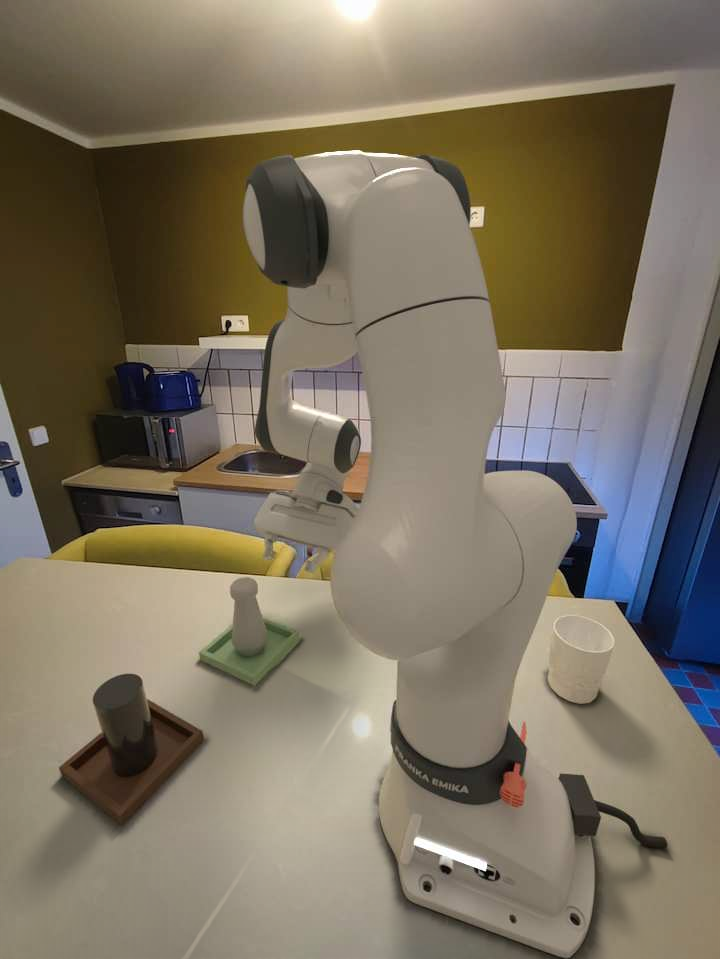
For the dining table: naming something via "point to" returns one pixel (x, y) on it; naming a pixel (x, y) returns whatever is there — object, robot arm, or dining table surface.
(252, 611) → the salt shaker
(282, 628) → the light tray
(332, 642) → the dining table surface
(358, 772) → the dining table surface
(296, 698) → the dining table surface
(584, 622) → the white cup
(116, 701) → the pepper shaker
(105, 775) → the dark tray
